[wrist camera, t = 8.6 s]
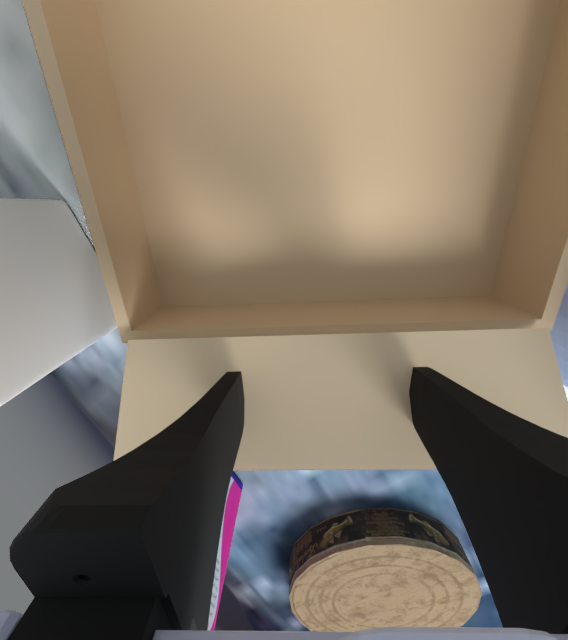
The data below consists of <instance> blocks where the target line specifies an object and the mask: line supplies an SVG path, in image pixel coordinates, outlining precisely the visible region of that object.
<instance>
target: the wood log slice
mask: <svg viewBox="0 0 568 640" xmlns="http://www.w3.org/2000/svg"><path fill="white" fill-rule="evenodd" d="M481 594H482V591H481V588H480V586H479V583H478V580H477V577H476V575H475V573H474V571H473V568H472V566H471V564H470V562H469V560H468V558H467V556H466V554H465V552H464V550H463V548H462V546H461V544H460V542H459V540H458V538H457V537H456V536H455V535H454V534H453V533H452V532H451V531H450V530H449V529H448V528H447V527H446V526H445V525H444V524H443V523H441V522H439V521H436V520H434V519H432V518H430V517H427V516H425V515H423V514H421V513H418V512H412V511H407V510H401V509H395V508H369V509H357V510H353V511H350V512H346V513H342V514H338V515H334V516H331V517H329V518H327V519H325V520H324V521H322V522H320V523H318V524H316V525H314V526H313V527H311V528H309V529H308V530H307V531H306V532H305V533H304V534H303V535H302V537H301V538H300V539H299V540H298V541H297V542H296V543H295V545H294V548H293V551H292V554H291V557H290V569H289V598H290V603H291V608H292V612H293V613H294V615H295V616H296V617H297V618H298V620H299V621H300V622H301V623H302V625H303V626H305V627H306V628H308V629H310V630H311V631H313V632H357V631H359V630H364V629H372V628H380V627H460V626H462V625H463V624H465V623H466V622H467V621H468V619H469V618H470V617H471V616H472V615H473V614H474V613H475V612H476V610H477V609H478V606H479V602H480V598H481Z"/></svg>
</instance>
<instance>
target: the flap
mask: <svg viewBox="0 0 568 640" xmlns="http://www.w3.org/2000/svg"><path fill="white" fill-rule="evenodd" d="M413 367H430V368H432V369H434V370H435V371H437V372H439V373H441V374H442V375H444V376H446V377H448V378H449V379H451V380H453V381H454V382H456V383H458V384H459V385H461V386H463V387H464V388H466V389H468V390H470V391H471V392H473V393H475V394H477V395H478V396H480V397H482V398H484V399H486V400H487V401H489V402H491V403H493V404H495V405H497V406H499V407H501V408H502V409H504V410H506V411H508V412H510V413H512V414H514V415H516V416H518V417H520V418H523V419H525V420H527V421H529V422H531V423H534V424H536V425H538V426H540V427H542V428H545V429H547V430H550V431H552V432H554V433H557V434H559V435H562V436H564V437H567V438H568V402H567V398H566V394H565V390H564V386H563V382H562V378H561V374H560V370H559V367H558V363H557V359H556V355H555V351H554V347H553V343H552V339H551V335H550V331H549V328H529V329H494V330H459V331H424V332H390V333H355V334H320V335H285V336H250V337H216V338H181V339H146V340H128V343H127V352H126V360H125V368H124V377H123V385H122V393H121V402H120V410H119V419H118V427H117V435H116V444H115V452H114V460H116V459H118V458H120V457H122V456H123V455H125V454H127V453H128V452H130V451H132V450H134V449H135V448H137V447H138V446H140V445H141V444H143V443H144V442H146V441H148V440H149V439H151V438H152V437H154V436H155V435H157V434H158V433H160V432H161V431H162V430H164V429H165V428H166V427H168V426H169V425H170V424H172V423H173V422H174V421H176V420H177V419H178V418H179V417H181V416H182V415H183V414H184V413H185V412H186V411H187V410H189V409H190V408H191V407H192V406H193V405H194V404H195V403H196V402H198V401H199V400H200V399H201V398H202V397H203V396H204V395H205V394H206V393H207V392H208V391H209V390H210V389H211V388H212V387H213V386H214V384H215V383H216V382H217V381H218V380H219V379H220V378H221V377H222V376H223V375H224V374H225V373H226V372H235V371H241V373H242V382H243V390H244V398H245V403H244V428H243V434H242V438H241V442H240V446H239V450H238V453H237V457H236V461H235V465H234V468H233V470H437V468H436V466H435V464H434V462H433V461H432V459H431V457H430V455H429V454H428V452H427V450H426V448H425V446H424V445H423V443H422V441H421V439H420V437H419V435H418V434H417V432H416V430H415V427H414V425H413V421H412V413H411V405H410V397H409V389H410V383H411V376H412V370H413ZM114 460H113V461H114Z"/></svg>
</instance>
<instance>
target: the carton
mask: <svg viewBox="0 0 568 640" xmlns="http://www.w3.org/2000/svg"><path fill="white" fill-rule="evenodd" d="M22 3H23V7H24V10H25V13H26V17H27V20H28V24H29V27H30V30H31V34H32V37H33V41H34V44H35V47H36V51H37V54H38V58H39V61H40V64H41V68H42V71H43V75H44V78H45V81H46V85H47V88H48V92H49V95H50V98H51V102H52V105H53V109H54V112H55V115H56V119H57V122H58V126H59V129H60V132H61V136H62V139H63V143H64V146H65V149H66V153H67V156H68V159H69V163H70V166H71V170H72V173H73V176H74V180H75V183H76V187H77V190H78V193H79V197H80V200H81V204H82V207H83V210H84V214H85V217H86V221H87V224H88V227H89V231H90V234H91V238H92V241H93V244H94V248H95V251H96V255H97V258H98V261H99V265H100V268H101V272H102V275H103V278H104V282H105V285H106V289H107V292H108V295H109V299H110V302H111V306H112V309H113V312H114V316H115V319H116V323H117V326H118V329H119V333H120V336H121V340H122V343H128V340H146V339H181V338H216V337H250V336H285V335H320V334H355V333H390V332H424V331H459V330H494V329H529V328H549V331H552V328H553V325H554V322H555V319H556V317H557V314H558V311H559V308H560V305H561V302H562V299H563V296H564V293H565V290H566V287H567V284H568V0H22Z"/></svg>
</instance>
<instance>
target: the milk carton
mask: <svg viewBox="0 0 568 640" xmlns="http://www.w3.org/2000/svg"><path fill="white" fill-rule="evenodd" d="M117 327H118V326H117V323H116V319H115V316H114V312H113V309H112V306H111V302H110V299H109V295H108V292H107V289H106V285H105V282H104V278H103V275H102V272H101V268H100V265H99V261H98V258H97V255H96V253H95V251H94V249H93V248H92V246H91V244H90V242H89V241H88V239H87V237H86V236H85V234H84V232H83V231H82V229H81V227H80V226H79V224H78V222H77V220H76V219H75V217H74V215H73V214H72V212H71V210H70V209H69V207H68V206H67V204H66V203H65V202H64V201H62V200H52V199H18V198H0V406H2V405H3V404H5V403H6V402H8V401H9V400H11V399H12V398H14V397H15V396H17V395H18V394H19V393H21V392H22V391H24V390H25V389H27V388H28V387H30V386H31V385H33V384H34V383H36V382H37V381H39V380H40V379H42V378H43V377H44V376H46V375H47V374H49V373H50V372H52V371H53V370H55V369H56V368H58V367H59V366H61V365H62V364H64V363H65V362H67V361H68V360H70V359H71V358H72V357H74V356H75V355H77V354H78V353H80V352H81V351H83V350H84V349H86V348H87V347H89V346H90V345H92V344H93V343H95V342H96V341H97V340H99V339H100V338H102V337H103V336H105V335H106V334H108V333H109V332H111V331H112V330H114V329H115V328H117Z"/></svg>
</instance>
